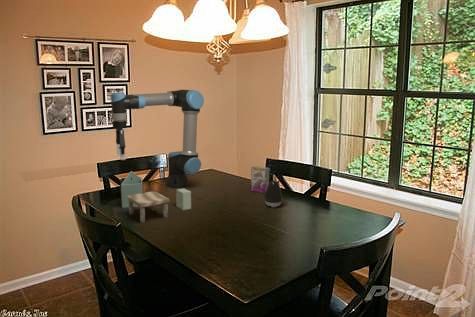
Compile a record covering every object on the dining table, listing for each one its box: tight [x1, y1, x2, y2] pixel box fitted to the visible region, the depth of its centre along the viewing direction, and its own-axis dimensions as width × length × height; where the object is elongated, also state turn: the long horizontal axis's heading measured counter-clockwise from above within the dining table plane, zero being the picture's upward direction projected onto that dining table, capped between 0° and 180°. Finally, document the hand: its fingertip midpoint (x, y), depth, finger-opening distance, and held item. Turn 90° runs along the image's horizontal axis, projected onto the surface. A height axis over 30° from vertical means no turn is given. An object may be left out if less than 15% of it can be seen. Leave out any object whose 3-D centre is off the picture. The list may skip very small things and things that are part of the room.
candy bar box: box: [250, 165, 270, 194], centre depth 261 cm, size 11×5×16 cm, turn 58°
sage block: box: [175, 187, 192, 211], centre depth 229 cm, size 5×8×10 cm, turn 36°
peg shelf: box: [127, 190, 170, 223], centre depth 216 cm, size 16×18×10 cm
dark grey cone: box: [264, 180, 283, 208], centre depth 233 cm, size 10×10×15 cm
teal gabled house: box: [120, 170, 144, 209], centre depth 232 cm, size 16×8×20 cm, turn 150°
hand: (121, 157), depth 232 cm, fingers open, 13 cm apart
